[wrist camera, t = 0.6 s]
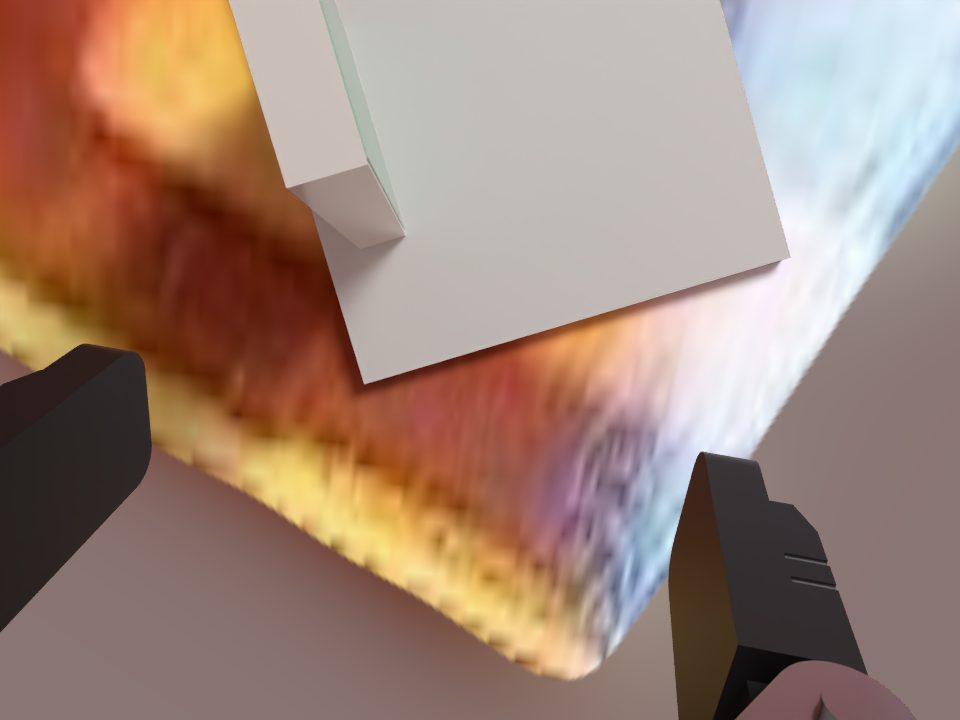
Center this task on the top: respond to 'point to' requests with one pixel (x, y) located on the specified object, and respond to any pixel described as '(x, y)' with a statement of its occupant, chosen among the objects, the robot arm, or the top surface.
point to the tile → (319, 115)
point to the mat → (545, 169)
